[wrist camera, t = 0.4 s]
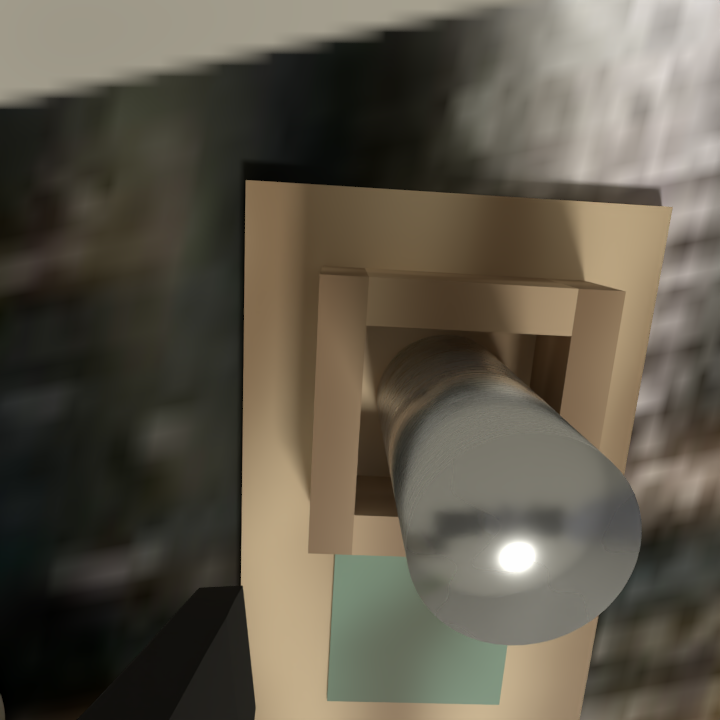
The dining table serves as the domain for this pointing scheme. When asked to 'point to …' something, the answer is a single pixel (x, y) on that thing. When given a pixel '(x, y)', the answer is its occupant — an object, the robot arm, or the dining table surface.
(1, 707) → the travel mug
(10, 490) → the dining table surface
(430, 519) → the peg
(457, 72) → the dining table surface
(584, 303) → the pocket board
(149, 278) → the dining table surface
